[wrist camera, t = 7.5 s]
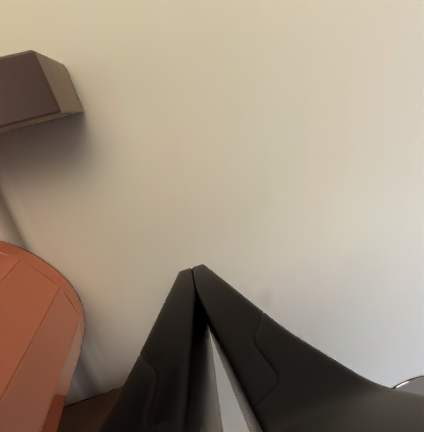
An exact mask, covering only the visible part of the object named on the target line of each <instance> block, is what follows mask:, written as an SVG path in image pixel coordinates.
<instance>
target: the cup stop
mask: <svg viewBox="0 0 424 432" xmlns="http://www.w3.org/2000/svg"><path fill="white" fill-rule="evenodd" d="M80 112H83V107H82V105H81V103H80V100H79V98H78V95H77V93H76V91H75V88H74V86H73V84H72V81H71V79H70V76H69V74H68V72H67V69H66V67H65V66H64V65H63V64H61V63H59V62H57V61H55V60H52V59H50V58H48V57H46V56H44V55H42V54H40V53H37V52H35V51H33V50H29V51H25V52H20V53H16V54H11V55H7V56H3V57H0V133H1V132H5V131H9V130H13V129H17V128H21V127H25V126H29V125H33V124H37V123H41V122H45V121H49V120H52V119H56V118H60V117H64V116H68V115H72V114H76V113H80ZM122 388H123V387H122ZM122 388H119V389H116V390H113V391H110V392H108V393H105V394H102V395H99V396H97V397H94V398H91V399H88V400H85V401H83V402H80V403H77V404H74V405H71V406H69V407H66V408H63V411H62V414H61V417H60V420H59V424H58V427H57V430H56V432H97V431H98V429H99V428H100V426H101V424H102V423H103V421H104V419H105V418H106V416H107V414H108V413H109V411H110V409H111V407H112V406H113V404H114V402H115V400H116V399H117V397H118V395H119V393H120V392H121V390H122Z"/></svg>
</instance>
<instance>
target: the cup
mask: <svg viewBox="0 0 424 432" xmlns="http://www.w3.org/2000/svg"><path fill="white" fill-rule="evenodd" d="M84 328H85V319H84V312H83V309H82V305H81V302H80V300H79V298H78V296H77V294H76V292H75V291H74V289H73V288H72V287H71V285H70V284H69V282H68V281H67V280H66V279H65V278H64V277H63V276H62V275H61V274H60V273H59V272H58V271H57V270H55V269H54V268H53V267H52V266H50V265H49V264H48V263H46V262H45V261H43V260H42V259H40V258H38V257H37V256H35V255H33V254H31V253H29V252H27V251H25V250H23V249H21V248H19V247H16V246H14V245H11V244H8V243H6V242H3V241H0V432H56V430H57V427H58V424H59V420H60V417H61V414H62V411H63V407H64V404H65V401H66V397H67V394H68V391H69V387H70V384H71V381H72V378H73V374H74V371H75V368H76V364H77V361H78V358H79V354H80V351H81V348H82V346H81V342H82V339H83V335H84Z"/></svg>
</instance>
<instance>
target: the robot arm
mask: <svg viewBox="0 0 424 432" xmlns="http://www.w3.org/2000/svg"><path fill="white" fill-rule="evenodd" d="M209 330H210V332H209ZM210 333H211V336H212V338H213V341H214V344H215V346H216V349H217V351H218V354H219V356H220V359H221V361H222V363H223V366H224V368H225V371H226V373H227V376H228V378H229V381H230V383H231V386H232V388H233V391H234V393H235V396H236V398H237V401H238V403H239V406H240V408H241V411H242V413H243V416H244V418H245V421H246V423H247V426H248V428H249V431H250V432H424V395H421V394H416V393H411V392H406V391H401V390H396V389H392V388H388V387H385V386H382V385H380V384H377V383H375V382H372V381H370V380H368V379H366V378H364V377H362V376H360V375H358V374H357V373H355V372H353V371H352V370H350V369H348V368H347V367H345V366H344V365H342V364H340V363H339V362H337V361H335V360H334V359H332V358H330V357H329V356H327V355H326V354H324V353H322V352H321V351H319V350H317V349H316V348H314V347H313V346H311V345H309V344H308V343H306V342H304V341H303V340H301V339H300V338H298V337H297V336H295V335H294V334H292V333H291V332H289V331H288V330H286V329H285V328H284V327H282V326H281V325H280V324H278V323H277V322H275V321H274V320H273V319H272V318H270V317H269V316H268V315H267V314H265V313H263V311H261V310H260V309H259V308H258V307H256V306H255V305H254V304H253V303H251V302H250V301H249V300H248V299H246V298H245V297H244V296H243V295H241V294H240V293H239V292H238V291H236V290H235V289H234V288H233V287H231V286H230V285H229V284H228V283H226V282H225V281H224V280H223V279H221V278H220V277H219V276H218V275H216V274H215V273H214V272H213V271H211V270H210V269H209V268H208V267H206V266H205V265H204V264H202V265H199V266H195V267H193V268H192V269H191V268H189V269H186V270H183V271H180V272H179V274H178V276H177V278H176V280H175V282H174V284H173V286H172V288H171V290H170V293H169V295H168V297H167V299H166V301H165V303H164V305H163V307H162V309H161V311H160V313H159V315H158V317H157V319H156V322H155V324H154V326H153V328H152V330H151V332H150V334H149V336H148V338H147V340H146V342H145V344H144V346H143V348H142V351H141V353H140V356H139V357H138V359H137V361H136V363H135V365H134V367H133V369H132V371H131V373H130V375H129V377H128V379H127V380H126V382H125V384H124V386H123V388H122V390H121V392H120V393H119V395H118V397H117V399H116V400H115V402H114V404H113V406H112V407H111V409H110V411H109V413H108V414H107V416H106V418H105V419H104V421H103V423H102V424H101V426H100V428H99V429H98V431H97V432H223V429H222V422H221V414H220V406H219V398H218V391H217V383H216V375H215V367H214V360H213V352H212V344H211V337H210Z"/></svg>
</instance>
